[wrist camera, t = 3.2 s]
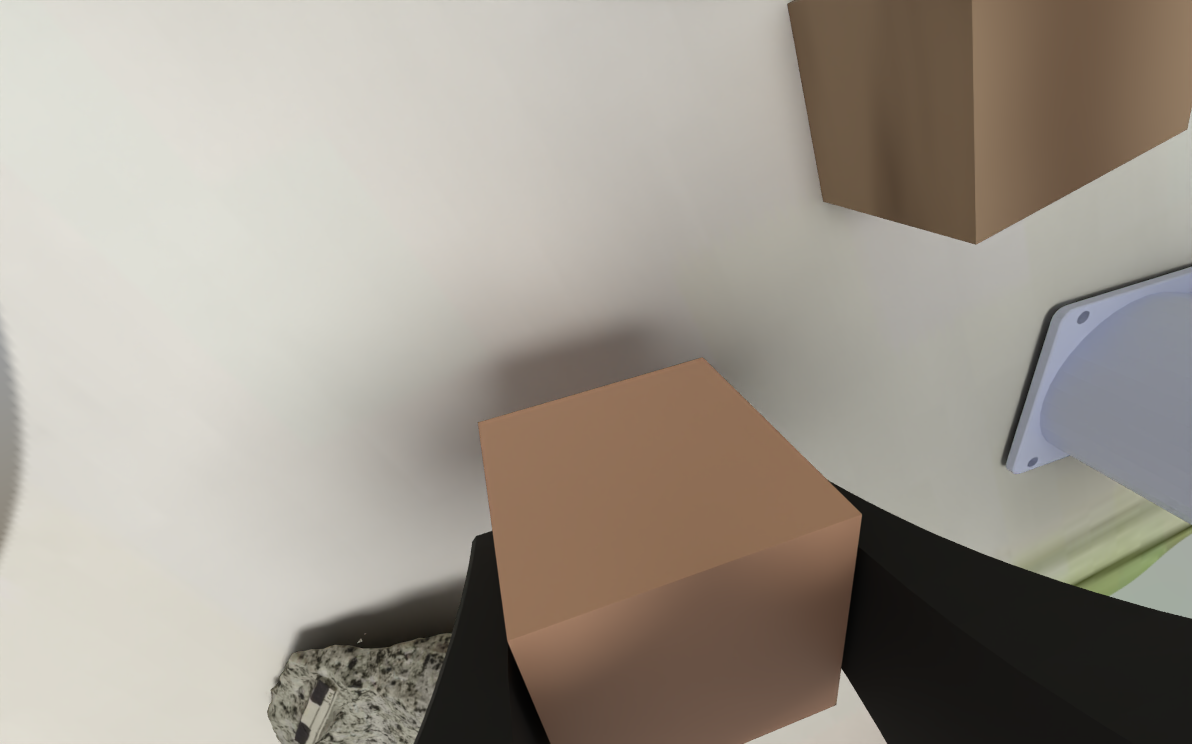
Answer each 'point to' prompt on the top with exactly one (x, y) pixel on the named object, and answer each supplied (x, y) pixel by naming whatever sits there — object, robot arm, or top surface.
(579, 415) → the terracotta block
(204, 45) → the top surface
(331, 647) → the rock sample
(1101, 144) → the walnut block
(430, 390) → the top surface
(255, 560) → the top surface
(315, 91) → the top surface
